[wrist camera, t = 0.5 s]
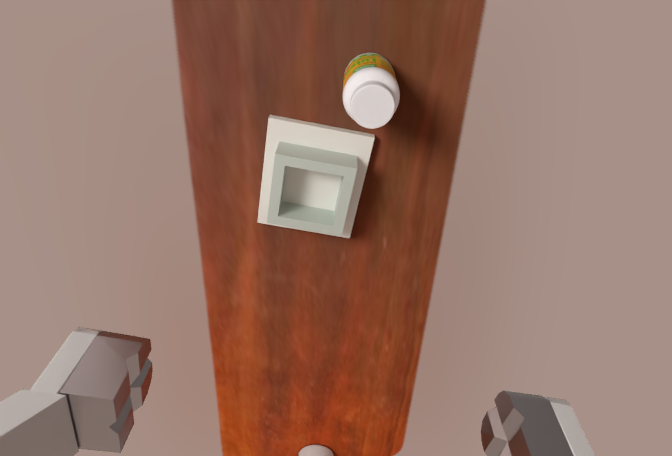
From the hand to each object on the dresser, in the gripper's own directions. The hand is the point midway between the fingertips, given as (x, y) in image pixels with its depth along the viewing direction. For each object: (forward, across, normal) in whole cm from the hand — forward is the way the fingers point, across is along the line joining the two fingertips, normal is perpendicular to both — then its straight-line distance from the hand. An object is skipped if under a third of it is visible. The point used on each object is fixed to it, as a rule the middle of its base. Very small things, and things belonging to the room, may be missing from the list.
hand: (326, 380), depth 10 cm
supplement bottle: (+42, -3, +3) cm, 42 cm away
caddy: (+42, +1, +16) cm, 45 cm away
